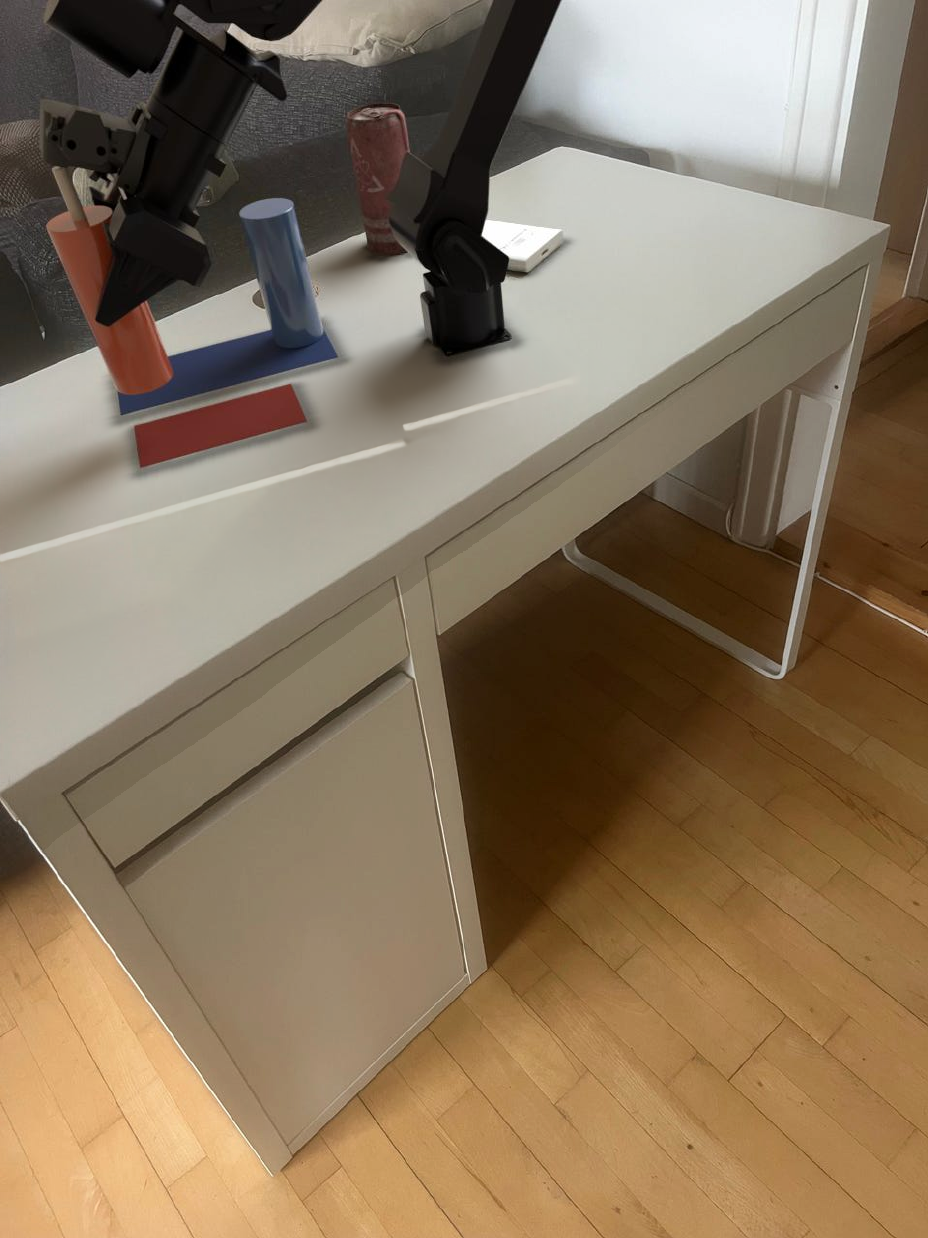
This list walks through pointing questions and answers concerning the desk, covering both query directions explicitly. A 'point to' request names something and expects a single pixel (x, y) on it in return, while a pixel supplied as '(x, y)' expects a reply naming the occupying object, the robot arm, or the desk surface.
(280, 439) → the desk surface
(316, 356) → the navy mat
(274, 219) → the slate blue jar
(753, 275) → the desk surface
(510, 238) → the hard drive
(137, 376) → the orange red candle
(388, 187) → the can
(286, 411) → the oxblood mat
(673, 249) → the desk surface
